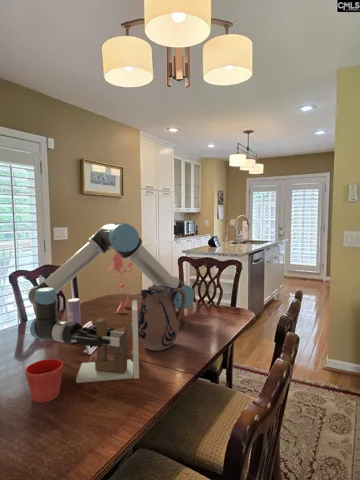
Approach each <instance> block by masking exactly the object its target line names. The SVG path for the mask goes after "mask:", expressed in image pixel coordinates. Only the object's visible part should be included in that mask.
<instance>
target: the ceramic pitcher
mask: <svg viewBox="0 0 360 480" xmlns="http://www.w3.org/2000/svg"><path fill="white" fill-rule="evenodd" d="M176 291H178V292H180V293H181V295H182V303H181V306H180V309H178V310H177V313H176V312H175V310H174V308H173V305H172V302H171V296H172V293H173V292H176ZM140 293H141V305H140V308H139V314H138V342H139V343H140V344H141V345H142V346H143V347H144V348H146V349H148V350H150V351H157V352H159V351H163V350H166V349H169V348H170V347H171V346H172V345H173V344H174V343H175V341H176V340H177V338H178V335H179V330H180V329H179V328H180V327H181V316H182V314H183V311H184V310H185V309H184V306H185V302H186V295H185V292H184V291H183V290H182V289H180V288H171V287H167V286H152V285H151V286H149V287H147V289H141V290H140Z"/></svg>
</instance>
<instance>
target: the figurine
mask: <svg viewBox="0 0 360 480" xmlns="http://www.w3.org/2000/svg"><path fill="white" fill-rule="evenodd" d="M112 262H113V263H112V264H111V266H110V267H109V268H108V270H107V271H106V273H109V272H110V270H111V269H112V268H113V270H114V272H115V271H116V272H117V273H120V284H119V289H123V288H126V289H128V287H126V286H125V284H124V283H122V276H123V275H124V274H125V273H132V269H133V265H134V264H133V263H132V262H131V261H129V263H128V264H127V267H128V269H130V271H129V270H126V269H125V267H124V263H123V258H122V257H121V256H120V255H119V254H118V253H117V252H116V251H115V253H114V256H112ZM121 267H122V268H123V270H124V271H121ZM122 294H123V292H122V290H120V299H122ZM128 304H129V306H130V308H131V309H132V303H131V302H130V298H129V294H127V298H126V301H125V302H124V303H123V302H120V304H119V306H118V308H117V310H116V314H118V312H119V311H120V309H121V308H122V309H123V312H124V313H125V314H126V313H127V311H126V309H125V307H126V306H127V305H128ZM111 308H113V306H112V307H110V309H111ZM105 311H108V308H107V309H106V310H105Z"/></svg>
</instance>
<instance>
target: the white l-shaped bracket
mask: <svg viewBox="0 0 360 480" xmlns="http://www.w3.org/2000/svg"><path fill="white" fill-rule="evenodd" d="M131 306H132V308H131V320H132V321H131V322H130V325H129V326H130V327H129V328H130V335H132V349H131V350H130V359H127V370H126V371H125V373H123V374H122V373H115V372H105V371H96V370H95V361H93V362H92V361H90V362H82V363H81V365H80V367H79V370H78V373H77V375H76V379H75V383H76V384H80V383H90V382H91V383H93V382H100V381H102V382H103V381H112V380H116V381H117V380H127V379H135V380H136V379H140V362H139V359H140V358H139V356H140V355H139V339H138V317H139V314H138V300H137V299H133V300H132V301H131Z"/></svg>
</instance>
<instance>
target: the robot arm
mask: <svg viewBox="0 0 360 480" xmlns="http://www.w3.org/2000/svg"><path fill="white" fill-rule="evenodd" d="M110 250H114V251H115V252H117V253H118V254H119V255H120V256H121V258H122V260H124V259H127V260H129V262H132V263H133V265H134V266H135V267H136V268H137V269H138V270H139V271H140V272H141V273H143V275H144V276H145V277H146V278H147V279H148V280H149V281H151V283H152V285H151V286H167V287H171V288H180V289H182V290H183V291H184V292H185V295H186V302H185V306H184V309H183V310H185V309H188V308H189V307H190V306H191V305H192V304H193V302H194V299H195V297H194V296H195V292H194V288H192V287H191V286H190V285H187V284H185V283H184V282H183V281H182V280H181V279H180V278H179V277H178V276H177V275H176V276H175V275H174V276H172V274H171V273H170V272H169V271H168V270H167V269H166V268H165V267H164V266H163V265H162V264H161V262H159V261H158V259H156V258H155V257H154V256H153V255H152V254H151V253H150V251H148V250H147V248H145V246H144V245H143V240H142V239H141V237H140V234H139V232H138V230H137V228H135V227H134V226H133V225H131V224H129V223H125V222H118V223H117V222H110V223H109V222H108V223H107V224H104V225H103V226H102V227H100V228H99V229H98V230H96V231H95V233H94V234H92V235H91V236H90V237H89V238H88V240H87V243H86V244H85V245H83V246H82V247H81V248H80V249H78V250H77V252H75V253H74V254H73V255H72V256H71V257H69V258H68V259H67V260H66V261H65V262H64V263H62V265H60V266H59V267H58V268H57V269H56V270H55V271H53V273H51V274H50V276H48V277H47V278H45V280H43V281H42V282H41V283H40V284H39V285H37V286H34V287H32V288H30V289H29V292H28V294H27V296H28V300H29V303H31V304H32V305H33V306H34V308H35V314H36V316H35V319H33V320H32V322H31V324H30V327H29V332H30V335H31V336H32V337H33V338H35V339H36V338H37V339H40V340H48V341H54V342H61V343H62V344H63V343H66V344H71V345H79V346H86V347H94V348H97V345H98V346H99V347H101V346H102V344H104V345H107V346H109V347H110V346H117V347H119V346H120V338H119V337H120V336H121V335H122V334H123V333H124V332H125V331H124V332H122V331H116V330H114V328H113V327H107V336H103V337H102V338H101V337H97V331H96V325H94V324H92V325H91V327H87V326H84V327H83V325H82V323H81V324H80V323H75V322H69V321H68V320H59V319H58V303H57V301H58V300H57V299H58V296H57V294H58V293H59V292H60V291H62V290H63V288H65V287H66V286H67V285H68V284H69V283H70V282H72V280H73V279H75V278H76V277H77V276H78V275H79V274H80V273H81V272H83V270H84V269H86V268H87V267H88V266H89V265H90V264H91V263H92V262H93V261H95V260H96V259H97V258H98V257H99V256H100V255H104V254H106V252H108V251H110ZM171 302H172V305H173V308H174V310H175V312H176V313H177V312H178V310H179V309H180V306H181V303H182V295H181V293H180V292H178V291H176V292H173V293H172V296H171ZM177 309H178V310H177Z"/></svg>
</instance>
